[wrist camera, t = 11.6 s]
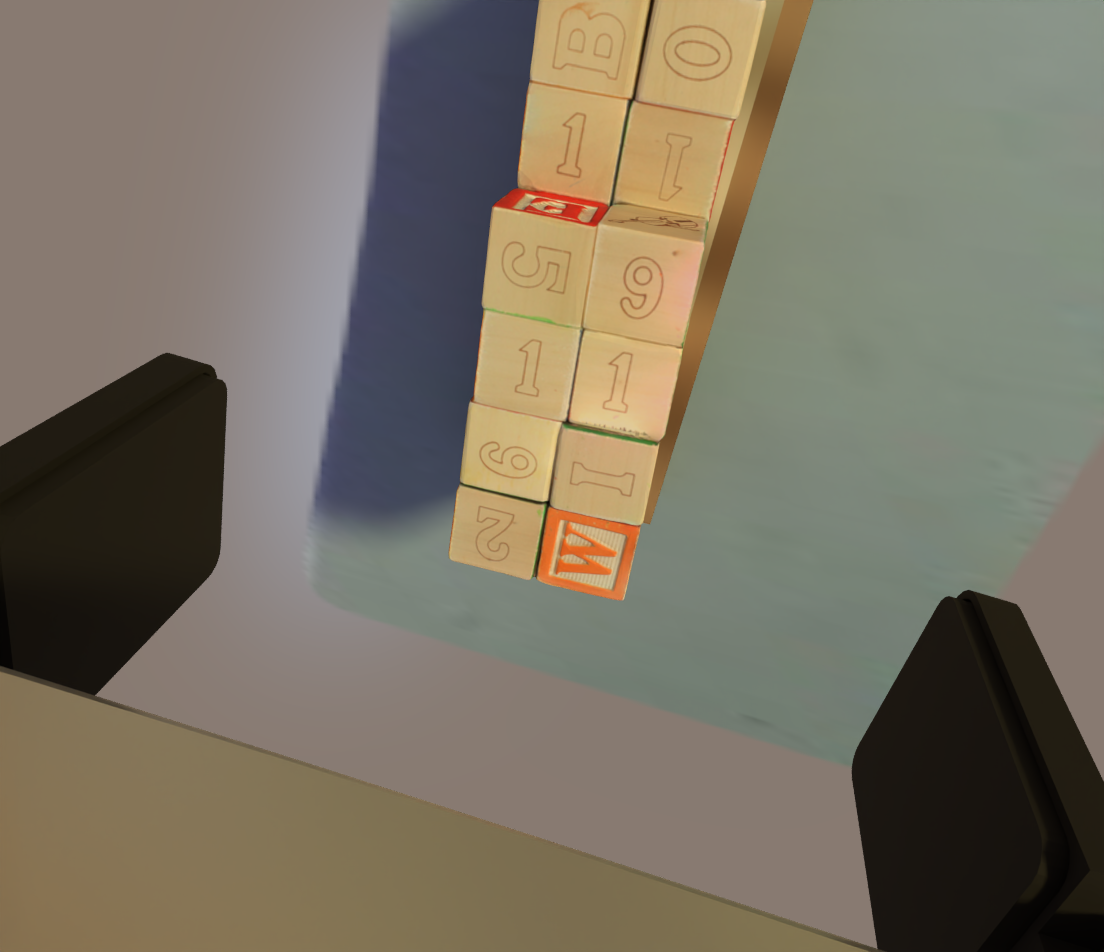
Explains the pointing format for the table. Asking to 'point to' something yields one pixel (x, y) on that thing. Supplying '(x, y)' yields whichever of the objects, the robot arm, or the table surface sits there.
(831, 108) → the table surface
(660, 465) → the wooden tray
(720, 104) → the stack of blocks
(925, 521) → the table surface
